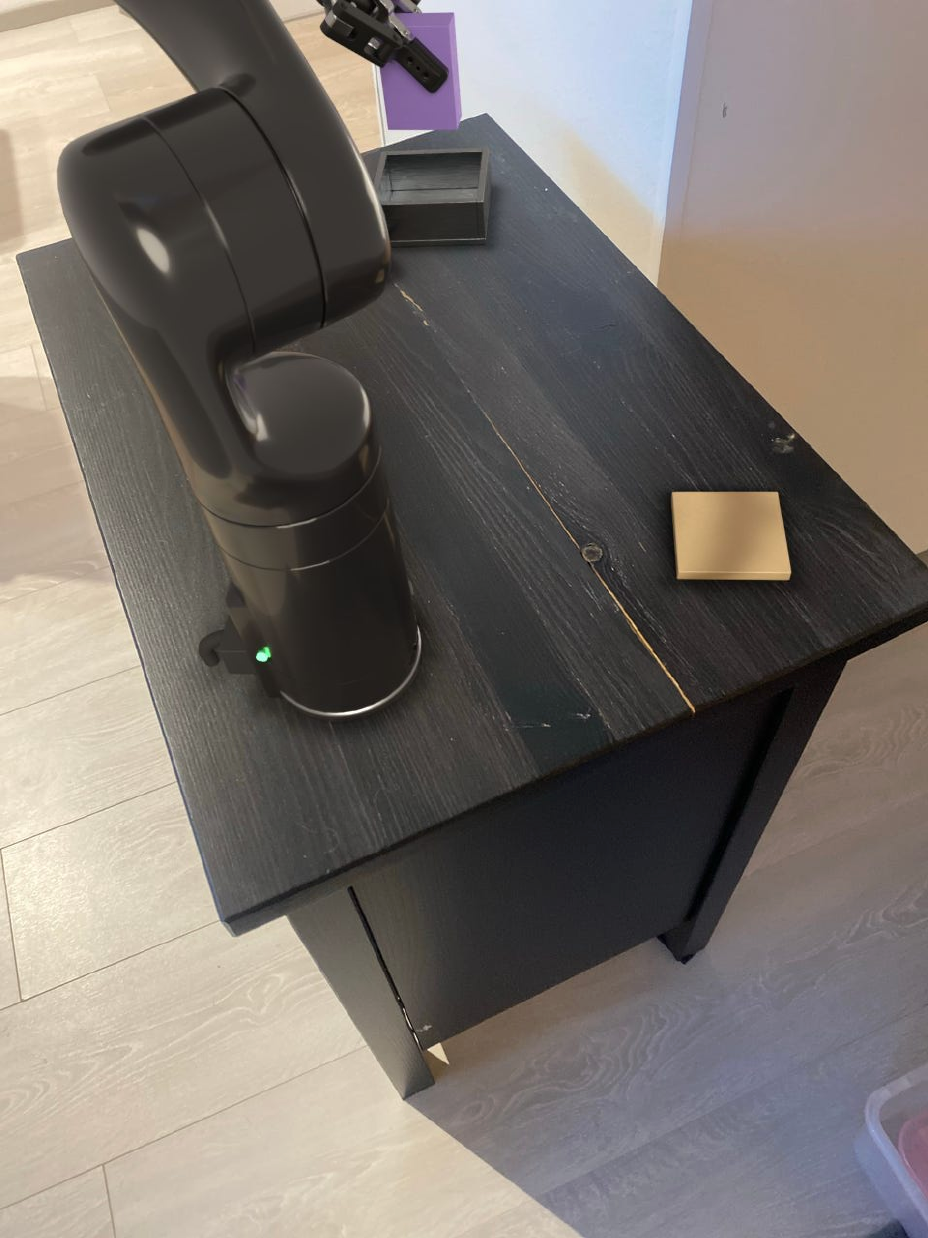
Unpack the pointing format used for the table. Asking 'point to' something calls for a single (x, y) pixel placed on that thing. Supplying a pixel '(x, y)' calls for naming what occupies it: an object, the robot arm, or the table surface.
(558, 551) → the table surface
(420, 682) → the table surface
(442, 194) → the black tray
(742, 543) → the coaster
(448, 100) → the purple rectangular block
